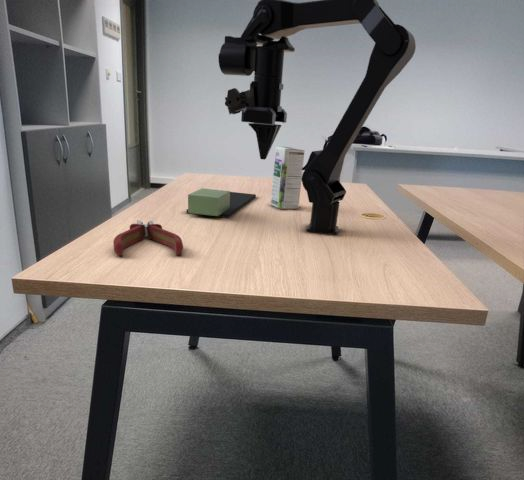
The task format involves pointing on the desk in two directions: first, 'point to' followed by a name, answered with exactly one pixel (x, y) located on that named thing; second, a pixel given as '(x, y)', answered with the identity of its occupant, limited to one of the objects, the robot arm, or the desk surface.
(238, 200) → the charcoal mat
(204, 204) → the sage block
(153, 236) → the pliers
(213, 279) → the desk surface
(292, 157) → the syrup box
